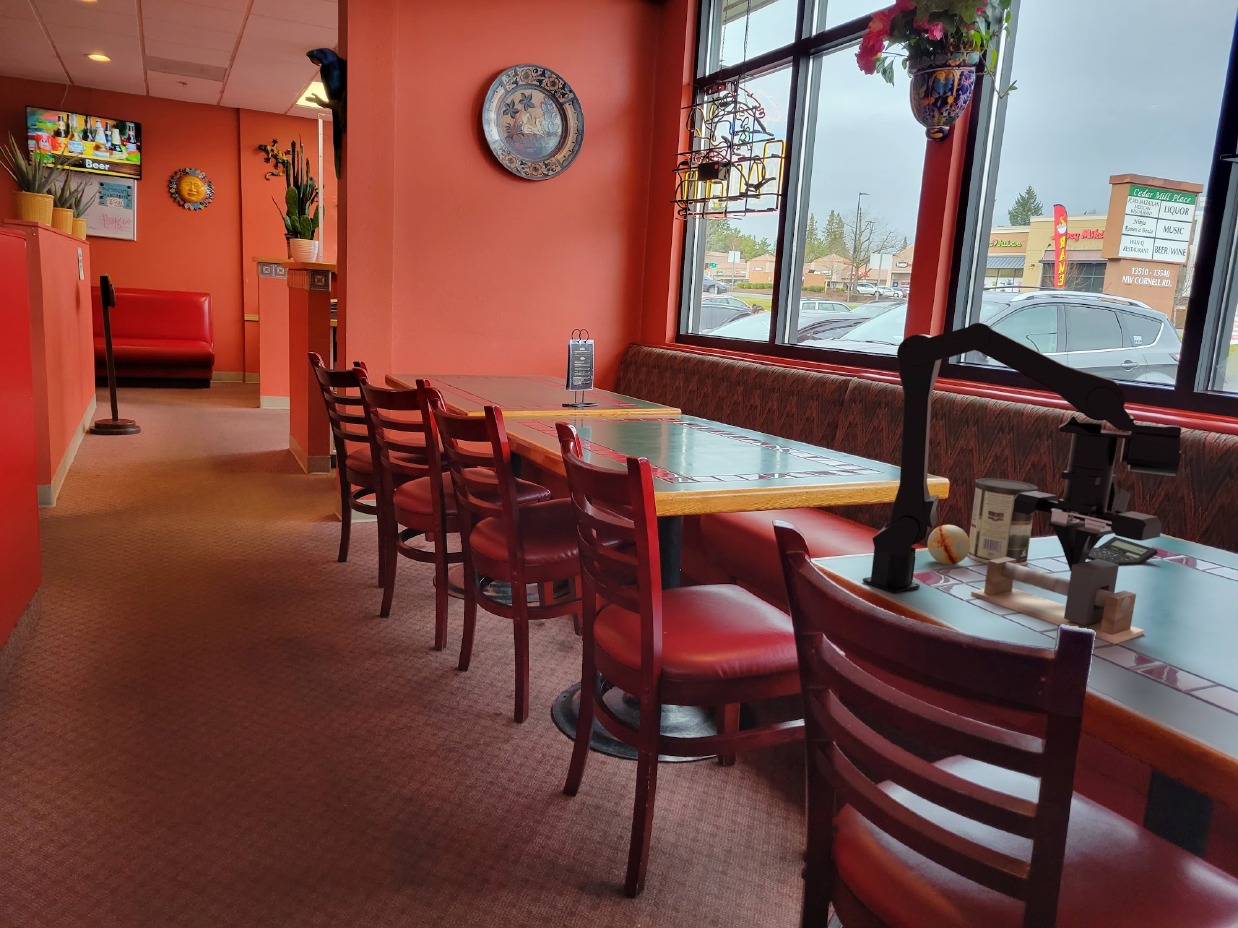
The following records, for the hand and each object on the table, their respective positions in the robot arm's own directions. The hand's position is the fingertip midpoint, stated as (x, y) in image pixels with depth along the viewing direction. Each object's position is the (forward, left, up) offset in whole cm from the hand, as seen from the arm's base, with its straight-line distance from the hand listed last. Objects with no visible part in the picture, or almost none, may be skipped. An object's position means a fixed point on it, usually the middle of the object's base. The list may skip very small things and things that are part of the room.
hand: (1074, 571), depth 125 cm
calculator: (+43, +15, -8) cm, 46 cm away
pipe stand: (0, +2, -7) cm, 7 cm away
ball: (+8, +26, -7) cm, 28 cm away
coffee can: (+20, +24, -7) cm, 32 cm away
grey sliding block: (0, -3, -6) cm, 7 cm away
